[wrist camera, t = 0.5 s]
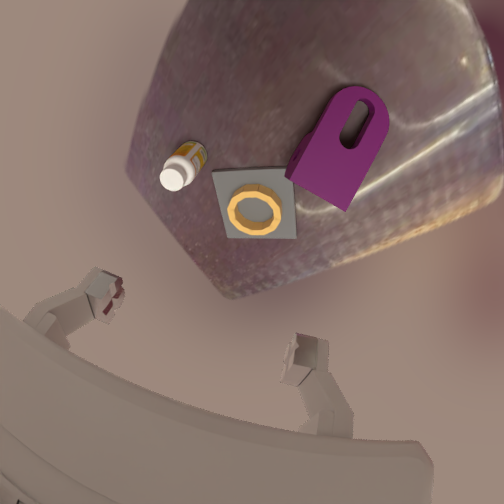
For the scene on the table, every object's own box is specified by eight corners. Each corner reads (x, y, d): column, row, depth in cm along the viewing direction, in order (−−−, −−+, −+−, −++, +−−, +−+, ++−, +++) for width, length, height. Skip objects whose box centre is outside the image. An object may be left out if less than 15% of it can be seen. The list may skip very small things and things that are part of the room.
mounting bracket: (330, 86, 40) (281, 175, 45) (346, 74, 32) (288, 179, 37) (375, 115, 42) (329, 201, 47) (398, 111, 34) (345, 212, 39)
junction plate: (213, 170, 49) (207, 179, 46) (292, 166, 46) (290, 175, 43) (228, 234, 59) (224, 246, 56) (296, 235, 56) (295, 247, 53)
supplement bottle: (174, 156, 48) (150, 182, 41) (188, 134, 45) (164, 157, 38) (198, 172, 50) (178, 201, 43) (213, 151, 46) (193, 177, 40)
